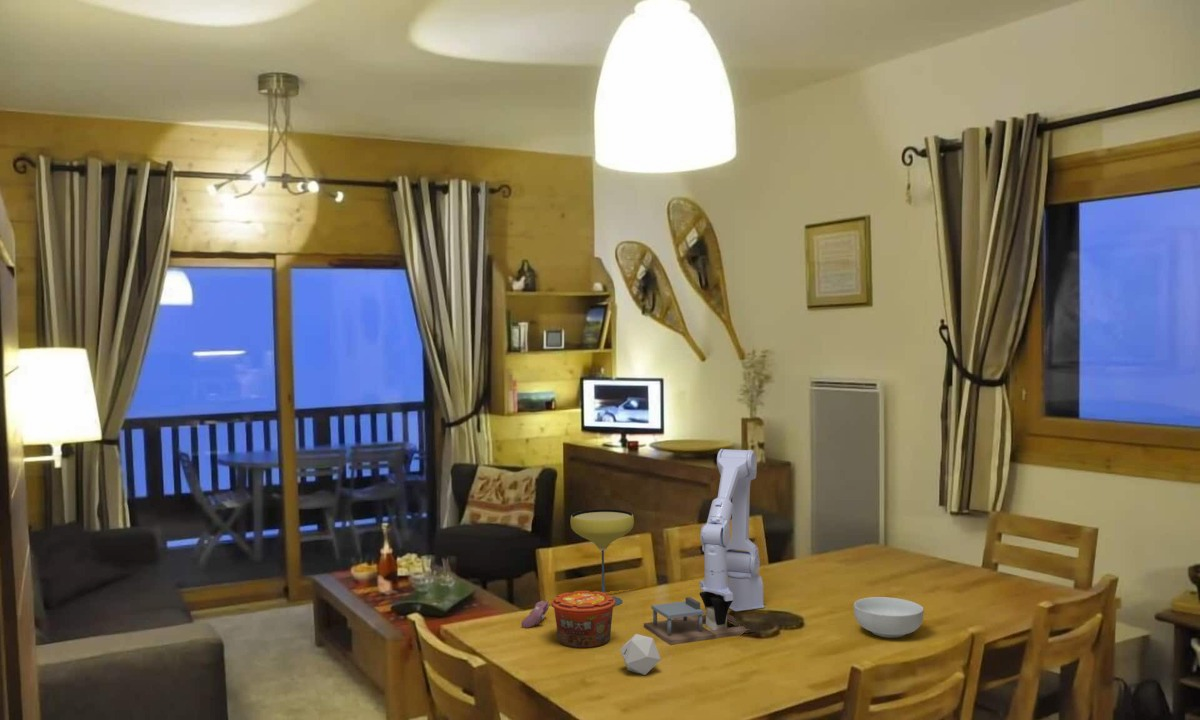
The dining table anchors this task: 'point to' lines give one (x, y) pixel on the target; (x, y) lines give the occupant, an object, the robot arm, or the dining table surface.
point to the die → (640, 654)
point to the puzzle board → (691, 630)
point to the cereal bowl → (888, 616)
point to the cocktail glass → (602, 529)
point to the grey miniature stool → (678, 611)
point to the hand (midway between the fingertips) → (716, 622)
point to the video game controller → (536, 614)
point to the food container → (583, 618)
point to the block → (713, 619)
